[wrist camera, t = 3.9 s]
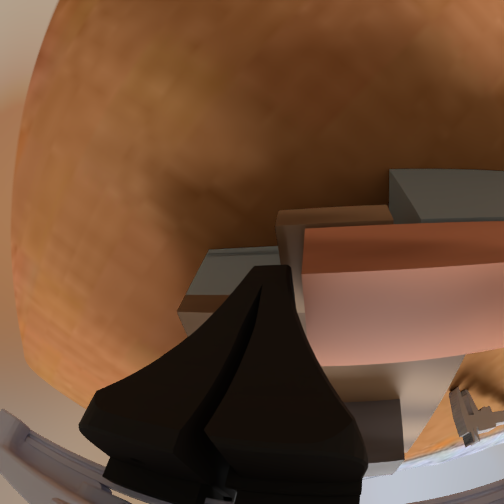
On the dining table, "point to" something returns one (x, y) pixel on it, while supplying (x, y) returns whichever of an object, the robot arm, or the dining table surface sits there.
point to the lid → (355, 376)
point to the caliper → (472, 417)
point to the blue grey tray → (400, 206)
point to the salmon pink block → (403, 291)
